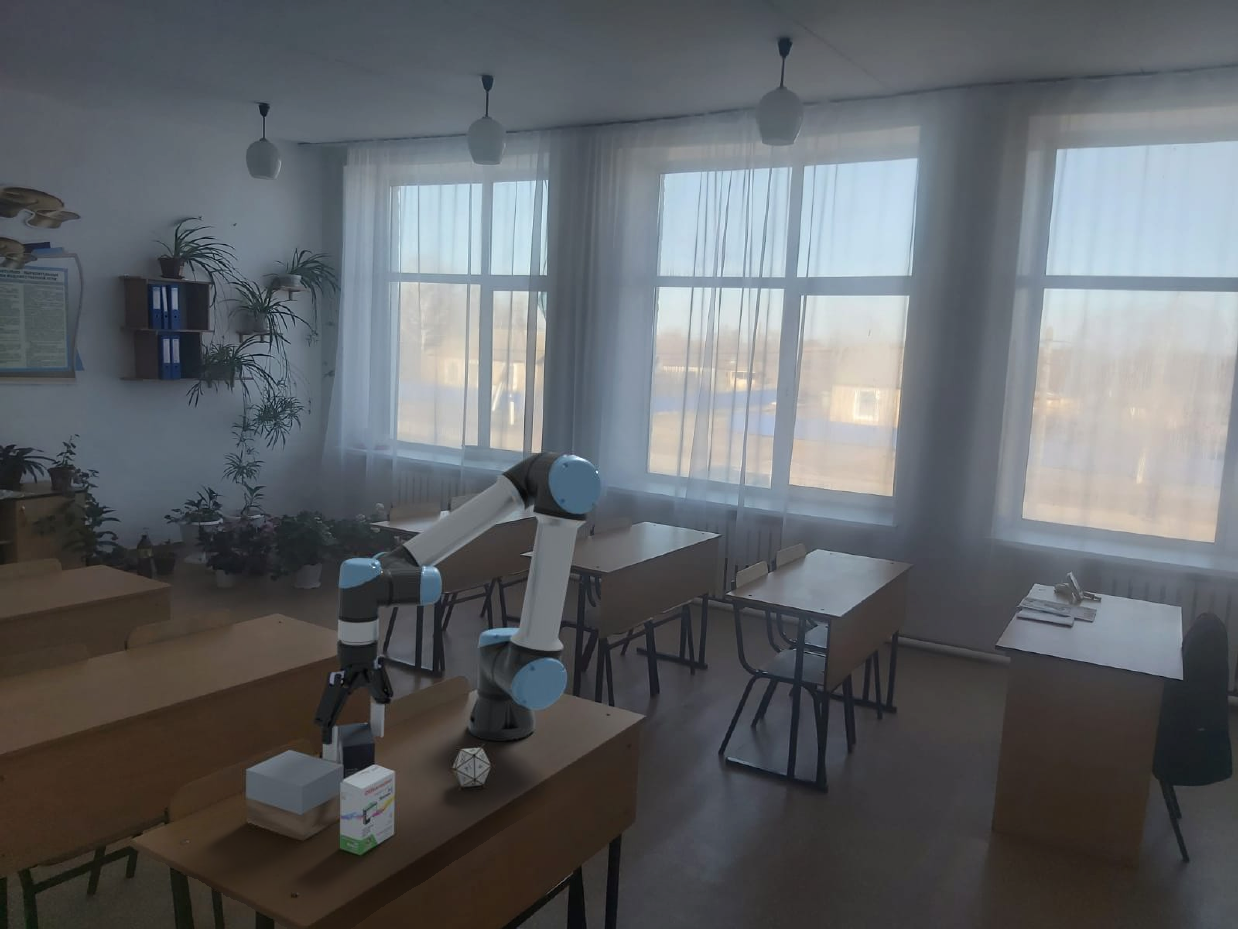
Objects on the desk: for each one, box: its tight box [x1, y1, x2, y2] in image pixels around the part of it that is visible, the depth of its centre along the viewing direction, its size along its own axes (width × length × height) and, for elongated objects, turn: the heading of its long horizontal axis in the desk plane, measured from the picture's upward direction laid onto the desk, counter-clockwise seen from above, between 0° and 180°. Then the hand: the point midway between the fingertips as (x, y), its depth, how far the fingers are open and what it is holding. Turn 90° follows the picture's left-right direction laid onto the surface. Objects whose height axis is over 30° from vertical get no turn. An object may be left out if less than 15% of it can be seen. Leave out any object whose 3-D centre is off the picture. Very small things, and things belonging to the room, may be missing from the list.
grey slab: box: [245, 749, 344, 815], centre depth 159 cm, size 10×13×5 cm
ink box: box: [339, 764, 396, 856], centre depth 152 cm, size 8×5×12 cm, turn 153°
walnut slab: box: [246, 794, 340, 842], centre depth 159 cm, size 10×13×5 cm
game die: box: [447, 743, 496, 792], centre depth 175 cm, size 9×8×10 cm
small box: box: [337, 721, 376, 780], centre depth 173 cm, size 11×6×10 cm, turn 22°
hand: (354, 747), depth 173 cm, fingers open, 13 cm apart
